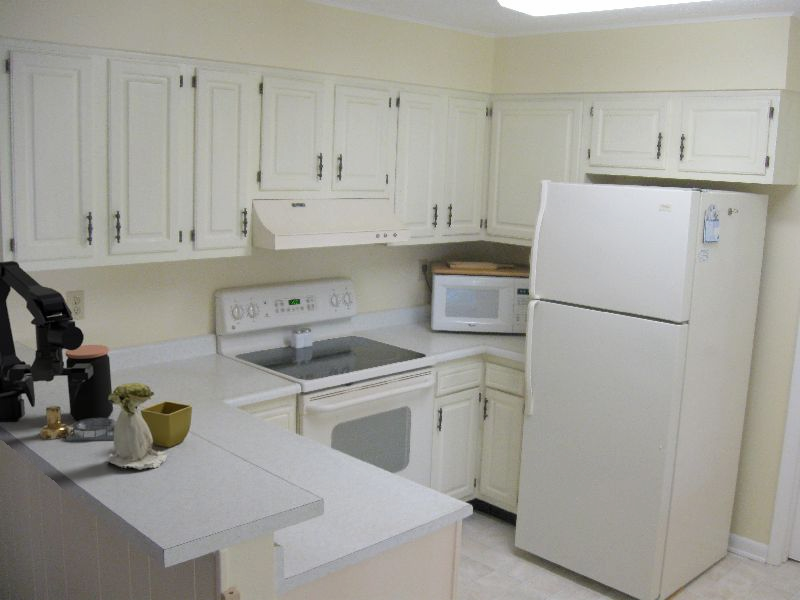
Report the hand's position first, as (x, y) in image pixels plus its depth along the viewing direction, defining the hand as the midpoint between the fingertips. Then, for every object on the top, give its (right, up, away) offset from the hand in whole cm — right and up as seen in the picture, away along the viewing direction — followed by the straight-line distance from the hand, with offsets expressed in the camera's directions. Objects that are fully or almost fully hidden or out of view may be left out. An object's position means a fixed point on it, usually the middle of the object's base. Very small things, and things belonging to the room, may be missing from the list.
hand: (52, 406), depth 209 cm
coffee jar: (+4, -5, +16) cm, 17 cm away
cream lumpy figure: (+26, -11, -16) cm, 32 cm away
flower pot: (+29, -9, -4) cm, 31 cm away
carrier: (+13, -7, +3) cm, 15 cm away
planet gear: (0, -7, +1) cm, 7 cm away
